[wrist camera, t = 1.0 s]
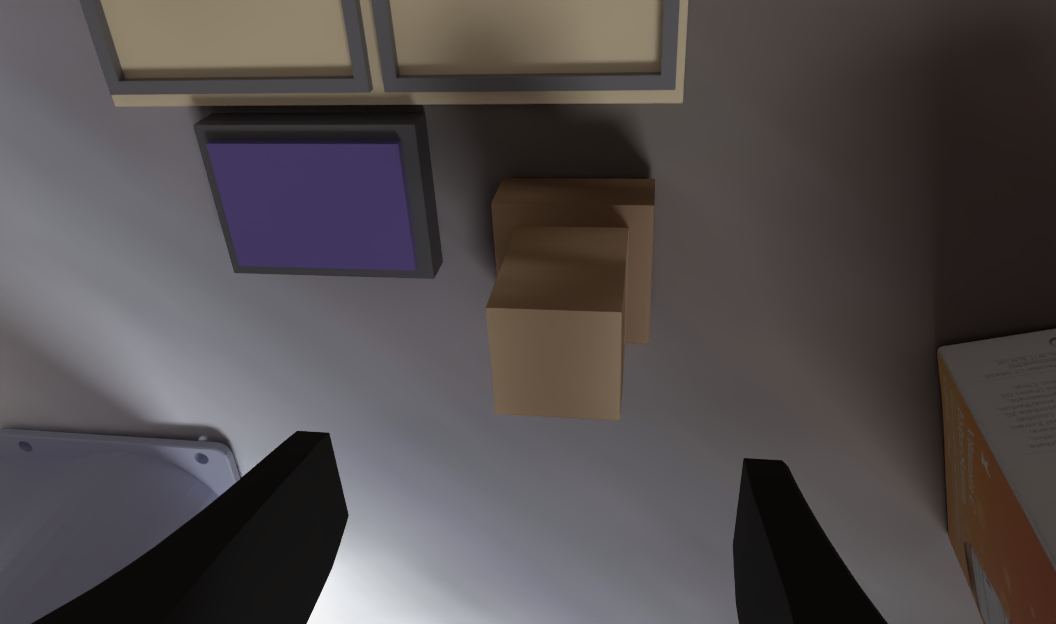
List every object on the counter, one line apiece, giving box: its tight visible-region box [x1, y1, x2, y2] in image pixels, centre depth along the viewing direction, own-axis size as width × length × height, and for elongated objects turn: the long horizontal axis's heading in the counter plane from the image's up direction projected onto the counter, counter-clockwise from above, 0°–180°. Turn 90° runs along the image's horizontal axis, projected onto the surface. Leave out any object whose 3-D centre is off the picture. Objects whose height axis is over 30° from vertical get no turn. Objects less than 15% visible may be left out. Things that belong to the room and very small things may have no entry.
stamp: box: [486, 178, 655, 421], centre depth 19 cm, size 4×4×6 cm
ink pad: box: [193, 113, 443, 279], centre depth 21 cm, size 6×4×1 cm
